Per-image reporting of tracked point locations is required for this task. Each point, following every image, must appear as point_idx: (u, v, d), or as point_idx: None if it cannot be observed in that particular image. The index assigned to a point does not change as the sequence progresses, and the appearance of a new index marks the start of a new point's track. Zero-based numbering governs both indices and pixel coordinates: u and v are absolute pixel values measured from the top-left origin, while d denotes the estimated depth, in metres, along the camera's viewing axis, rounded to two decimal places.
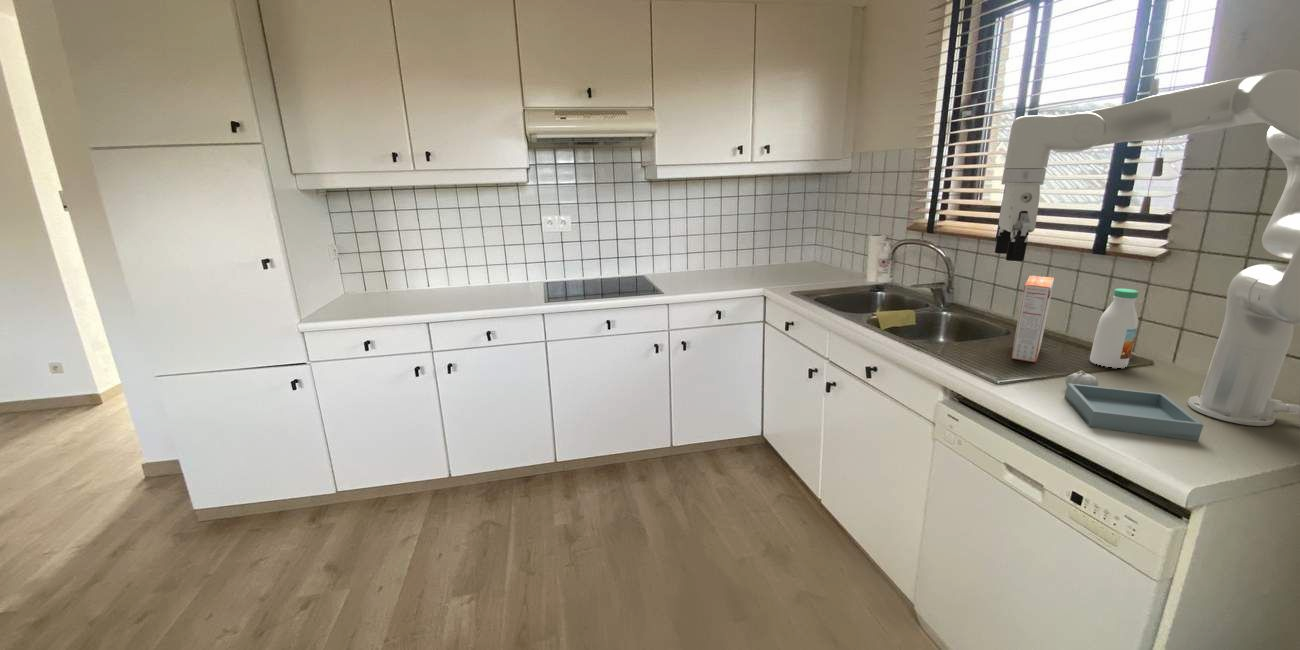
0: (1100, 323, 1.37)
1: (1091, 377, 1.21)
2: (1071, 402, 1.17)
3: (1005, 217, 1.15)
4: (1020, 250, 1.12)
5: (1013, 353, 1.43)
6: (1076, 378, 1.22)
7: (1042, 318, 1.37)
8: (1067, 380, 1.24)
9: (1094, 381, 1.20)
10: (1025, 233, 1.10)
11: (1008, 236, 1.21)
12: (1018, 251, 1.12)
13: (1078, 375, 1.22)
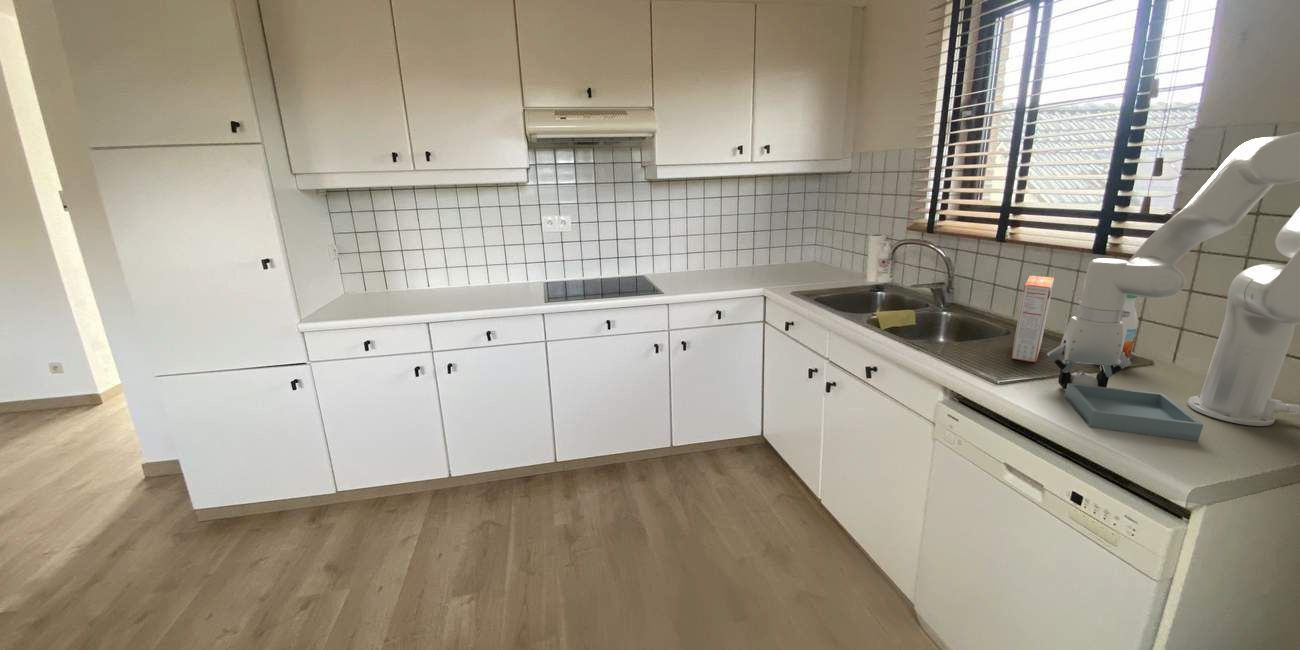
0: None
1: (1091, 377, 1.21)
2: (1071, 402, 1.17)
3: (1103, 353, 1.18)
4: None
5: (1013, 353, 1.43)
6: (1076, 377, 1.22)
7: (1042, 318, 1.37)
8: None
9: (1094, 380, 1.20)
10: None
11: None
12: None
13: (1078, 375, 1.22)
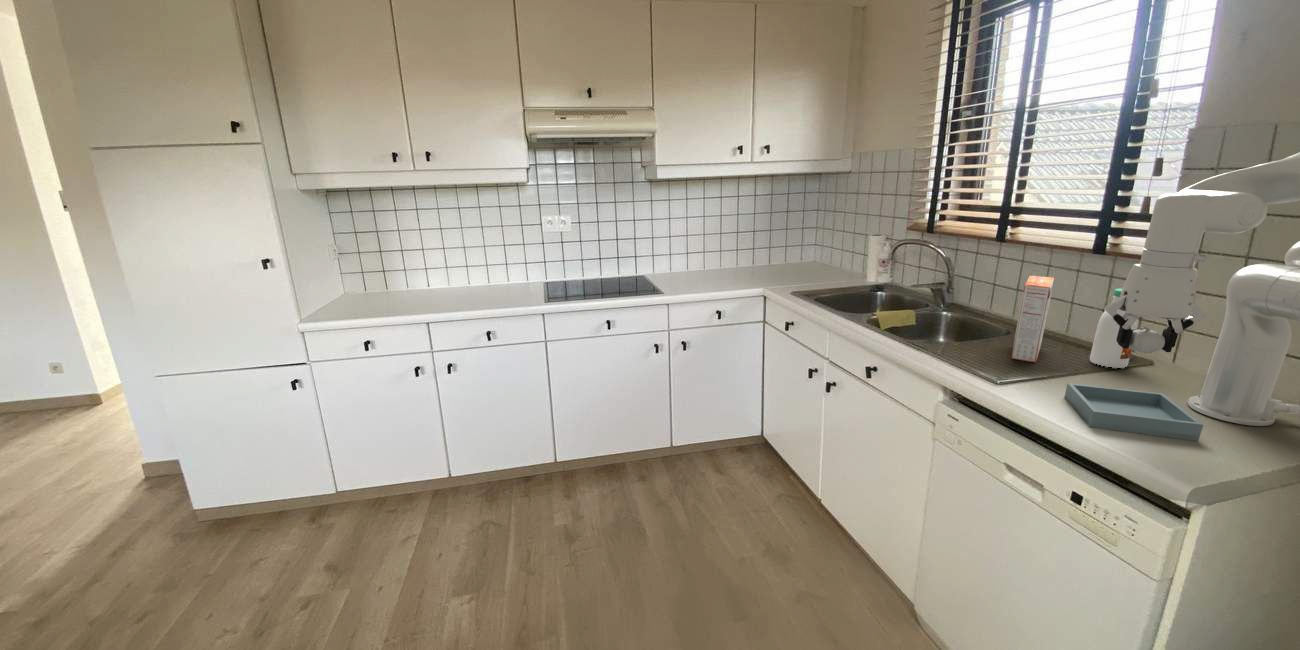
0: (1100, 323, 1.37)
1: (1157, 333, 1.04)
2: (1071, 402, 1.17)
3: (1172, 305, 1.01)
4: None
5: (1013, 353, 1.43)
6: (1138, 335, 1.05)
7: (1042, 318, 1.37)
8: None
9: (1160, 337, 1.04)
10: None
11: None
12: None
13: (1141, 332, 1.05)
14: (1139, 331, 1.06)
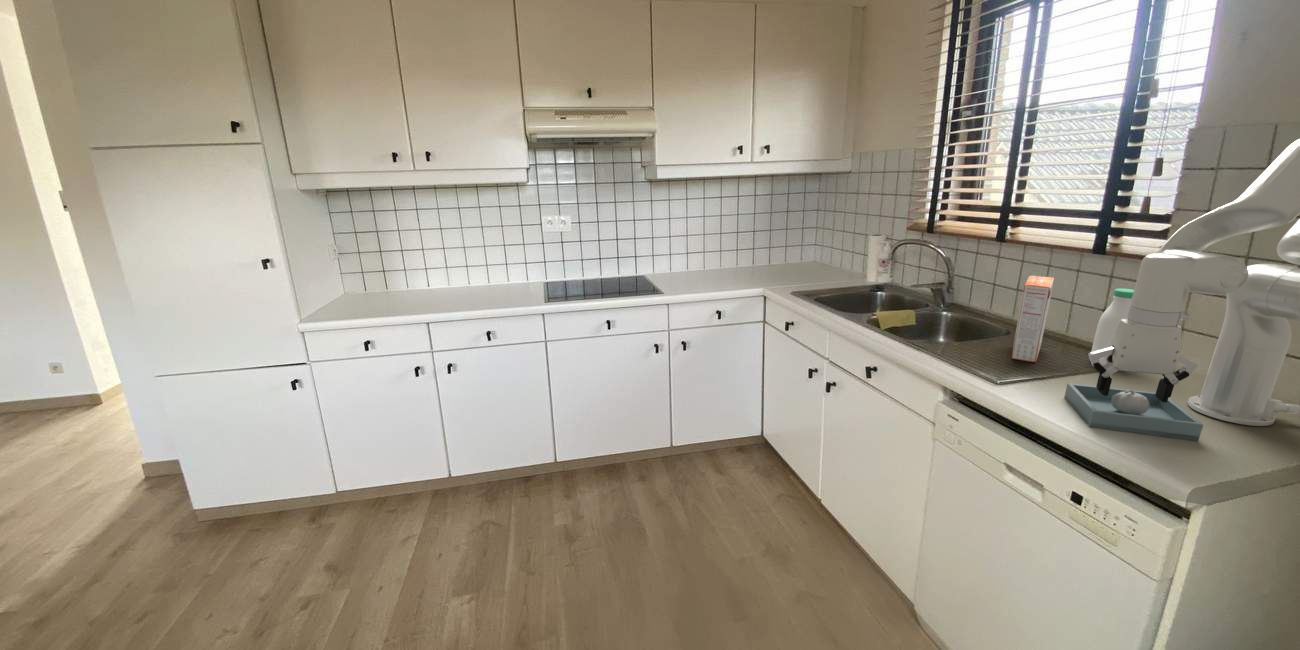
0: (1100, 323, 1.37)
1: (1141, 397, 1.08)
2: (1071, 402, 1.17)
3: (1158, 361, 1.04)
4: None
5: (1013, 353, 1.43)
6: (1123, 397, 1.09)
7: (1042, 318, 1.37)
8: (1113, 400, 1.11)
9: (1144, 401, 1.07)
10: None
11: None
12: None
13: (1126, 394, 1.09)
14: (1124, 394, 1.10)
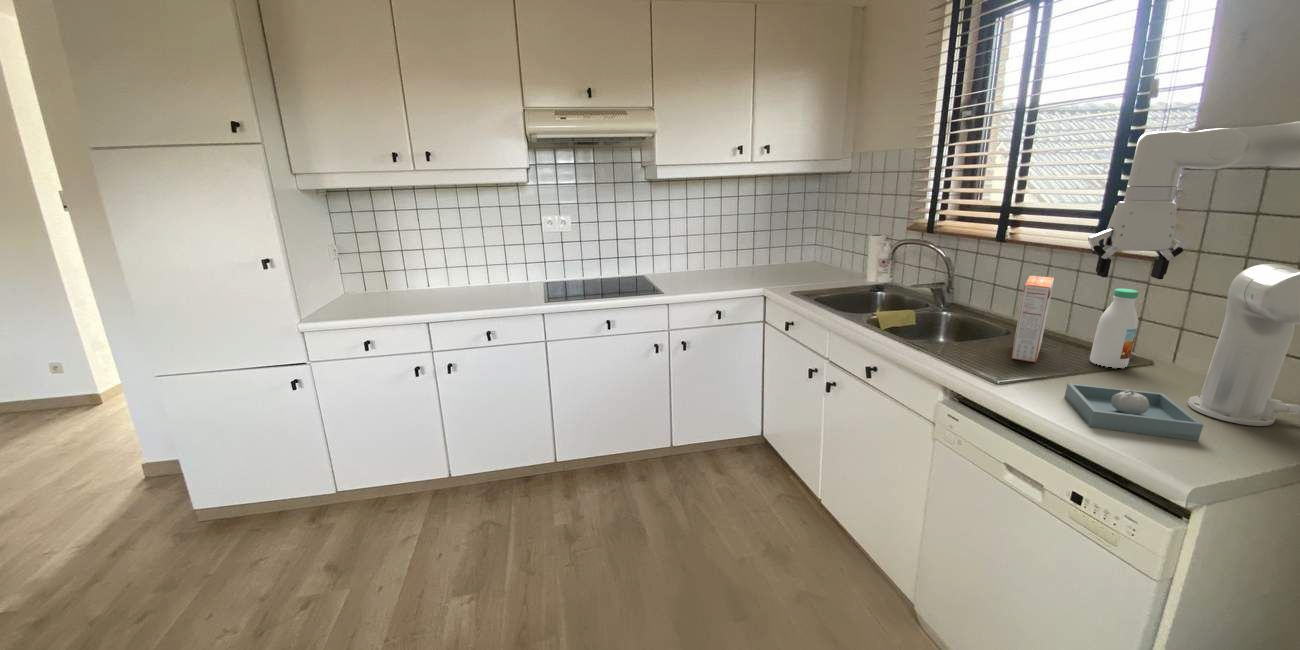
0: (1100, 323, 1.37)
1: (1141, 397, 1.08)
2: (1071, 402, 1.17)
3: (1155, 237, 1.08)
4: None
5: (1013, 353, 1.43)
6: (1123, 397, 1.09)
7: (1042, 318, 1.37)
8: (1113, 400, 1.11)
9: (1144, 401, 1.07)
10: None
11: None
12: None
13: (1126, 394, 1.09)
14: (1124, 394, 1.10)
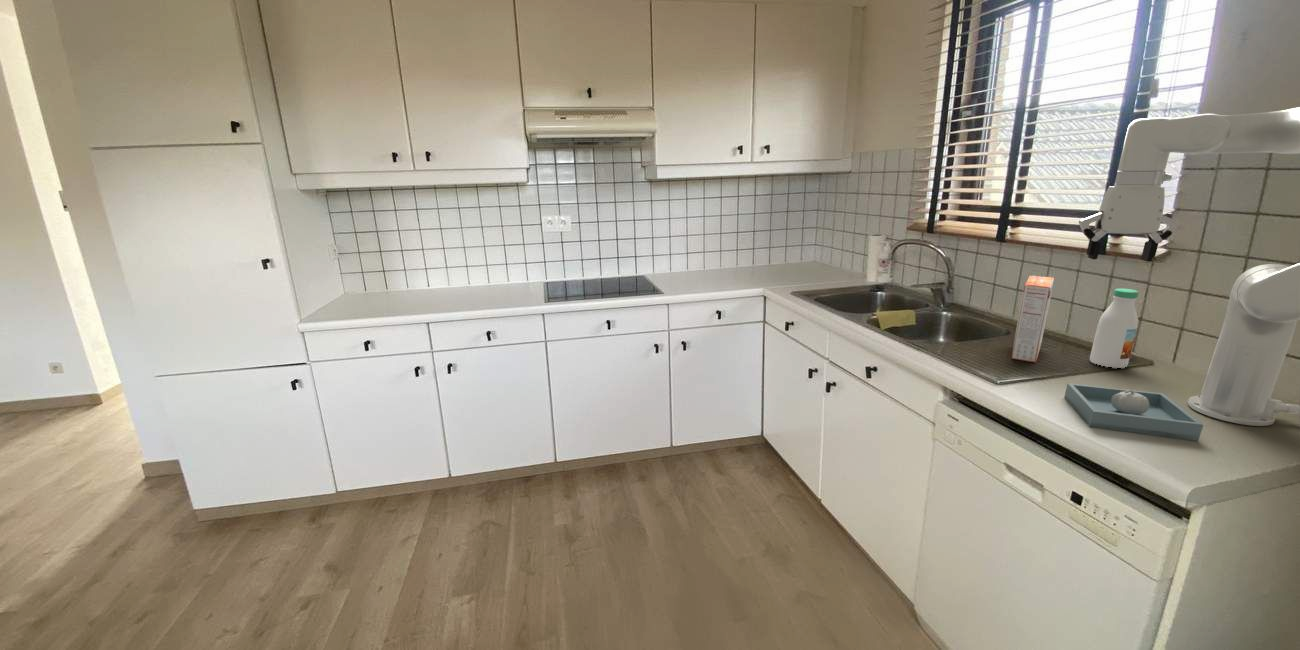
0: (1100, 323, 1.37)
1: (1141, 397, 1.08)
2: (1071, 402, 1.17)
3: (1143, 220, 1.13)
4: None
5: (1013, 353, 1.43)
6: (1123, 397, 1.09)
7: (1042, 318, 1.37)
8: (1113, 400, 1.11)
9: (1144, 401, 1.07)
10: None
11: None
12: None
13: (1126, 394, 1.09)
14: (1124, 394, 1.10)
